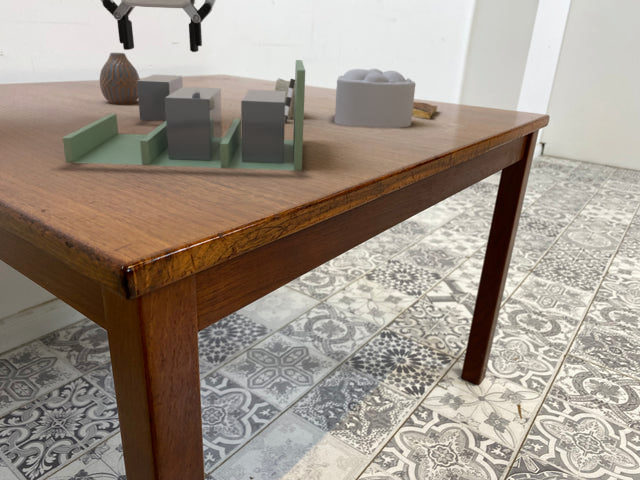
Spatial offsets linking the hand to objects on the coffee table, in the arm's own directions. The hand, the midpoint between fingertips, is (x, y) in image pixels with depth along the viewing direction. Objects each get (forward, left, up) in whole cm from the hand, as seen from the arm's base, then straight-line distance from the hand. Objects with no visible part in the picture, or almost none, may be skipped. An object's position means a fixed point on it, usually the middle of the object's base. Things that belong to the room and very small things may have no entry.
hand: (161, 50), depth 78 cm
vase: (-11, +16, -11) cm, 22 cm away
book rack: (+9, -23, -11) cm, 27 cm away
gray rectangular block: (0, 0, -11) cm, 11 cm away
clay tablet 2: (+16, -23, -10) cm, 30 cm away
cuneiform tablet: (+19, +8, -11) cm, 23 cm away
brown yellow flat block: (+46, +18, -11) cm, 50 cm away
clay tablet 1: (+9, -23, -10) cm, 27 cm away
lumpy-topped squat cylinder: (+34, +6, -11) cm, 36 cm away
